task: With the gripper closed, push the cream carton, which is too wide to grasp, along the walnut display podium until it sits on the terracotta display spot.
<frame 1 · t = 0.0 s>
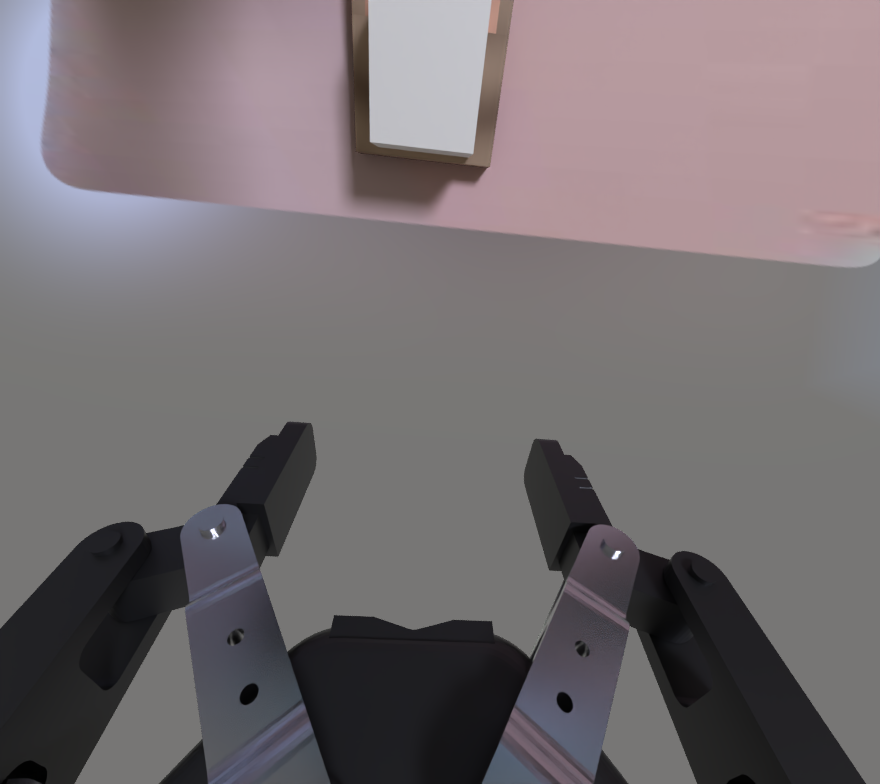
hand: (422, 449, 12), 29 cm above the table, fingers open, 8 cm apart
carton: (427, 85, 28), point 2 cm above the table, touching podium
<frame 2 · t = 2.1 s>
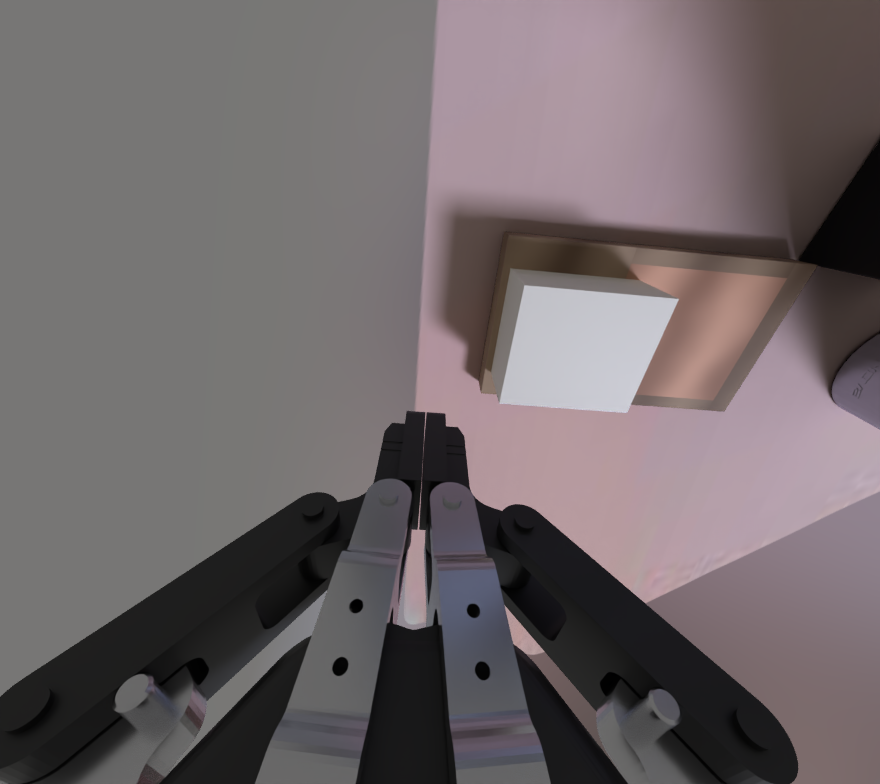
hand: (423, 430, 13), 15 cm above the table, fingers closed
carton: (559, 329, 25), point 2 cm above the table, touching podium
podium: (619, 326, 27), on the table
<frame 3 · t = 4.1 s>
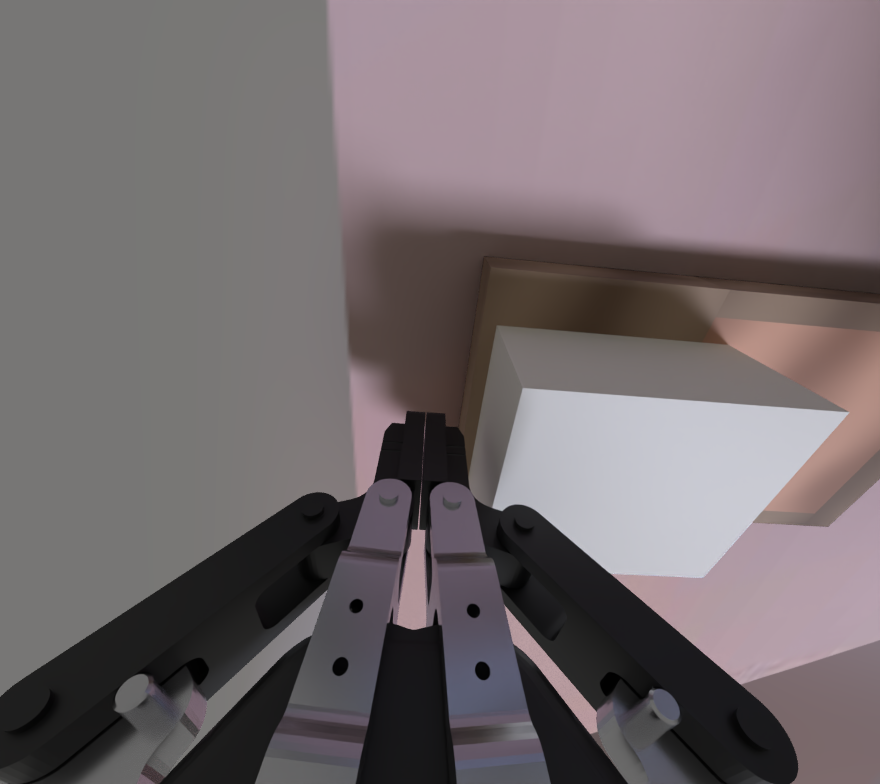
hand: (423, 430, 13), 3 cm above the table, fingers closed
carton: (581, 420, 15), point 2 cm above the table, touching gripper, podium
podium: (673, 403, 17), on the table
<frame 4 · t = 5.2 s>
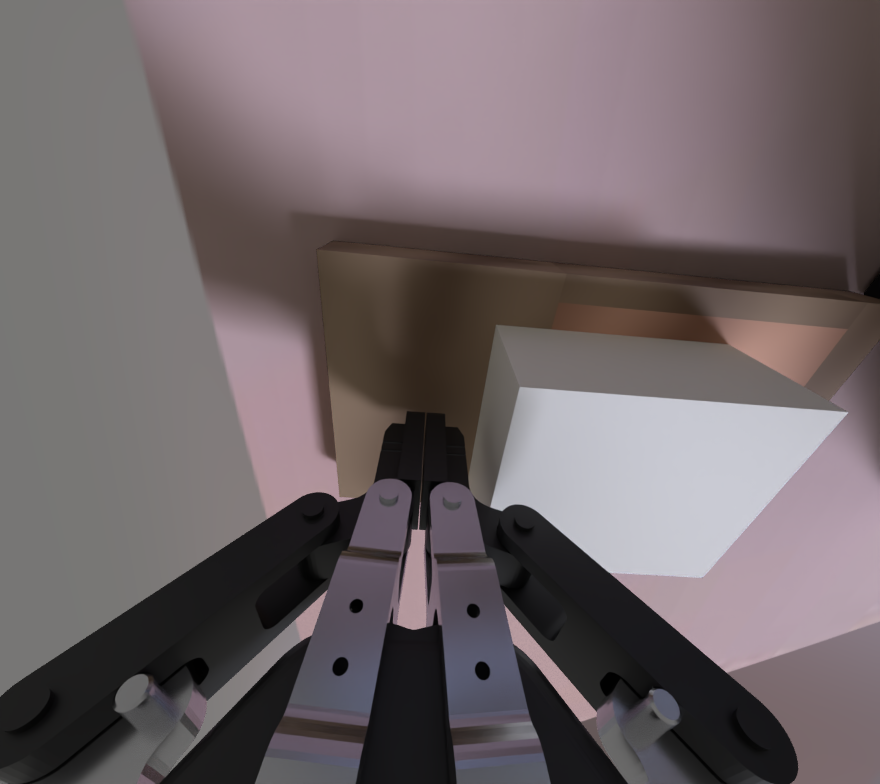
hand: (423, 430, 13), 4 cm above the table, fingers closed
carton: (581, 419, 15), point 2 cm above the table, touching gripper, podium
podium: (558, 394, 17), on the table
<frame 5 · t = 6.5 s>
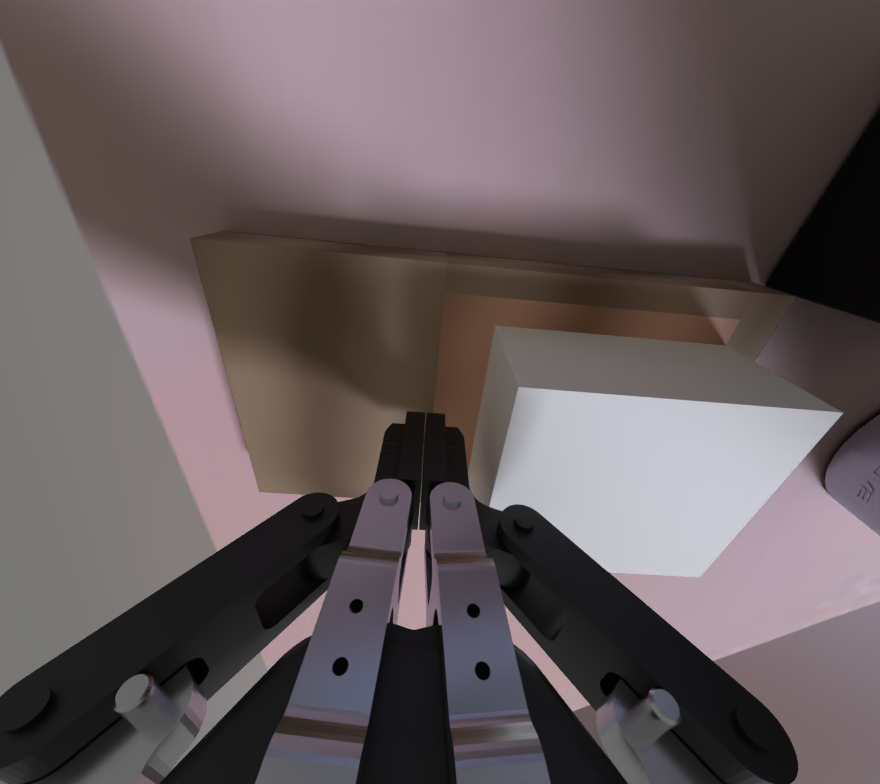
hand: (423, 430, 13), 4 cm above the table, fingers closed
carton: (580, 420, 15), point 2 cm above the table, touching gripper, podium
podium: (475, 388, 16), on the table
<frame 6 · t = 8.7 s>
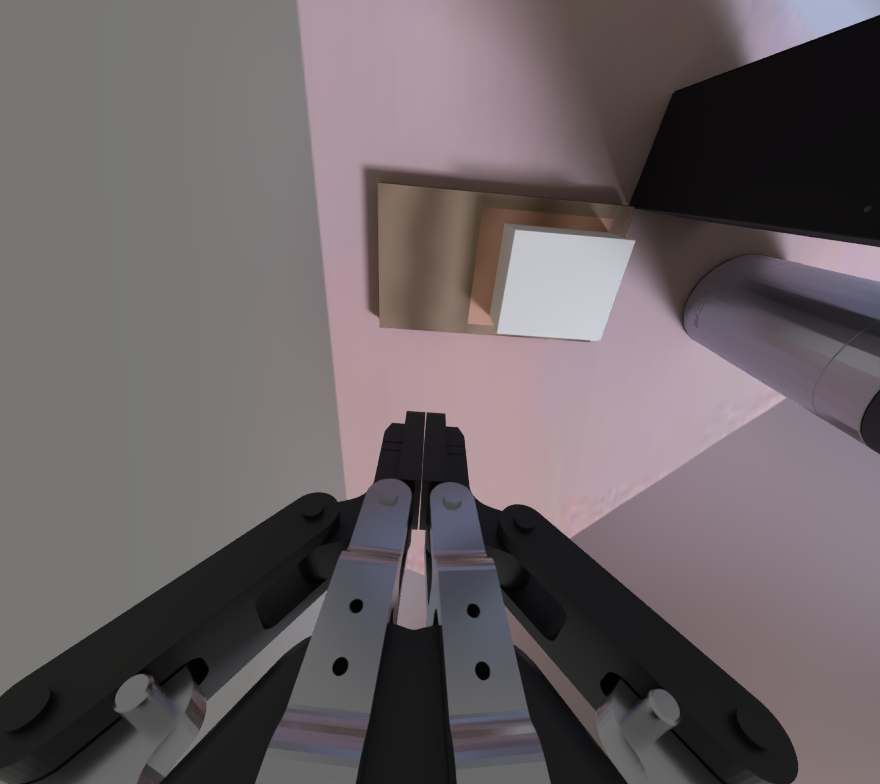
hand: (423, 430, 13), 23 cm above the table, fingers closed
carton: (545, 276, 31), point 2 cm above the table, touching podium
black rectangular column: (690, 162, 28), on the table
podium: (493, 267, 32), on the table
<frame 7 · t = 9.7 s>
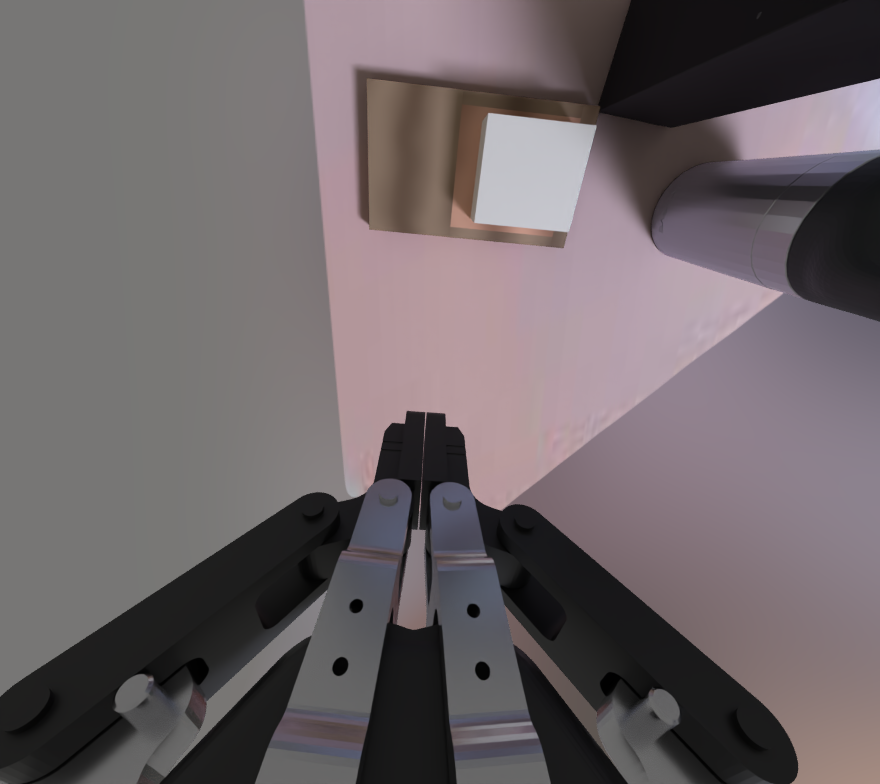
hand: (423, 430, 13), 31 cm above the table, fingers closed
carton: (520, 177, 33), point 2 cm above the table, touching podium
black rectangular column: (651, 67, 31), on the table
podium: (474, 173, 35), on the table
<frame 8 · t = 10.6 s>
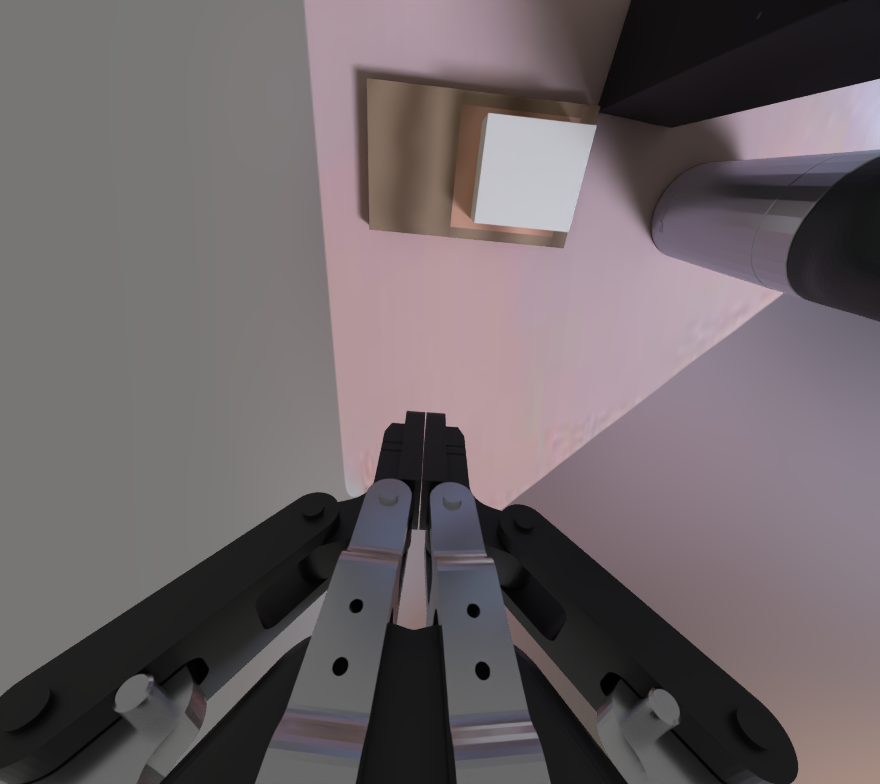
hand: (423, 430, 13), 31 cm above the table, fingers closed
carton: (521, 177, 33), point 2 cm above the table, touching podium
black rectangular column: (651, 67, 31), on the table
podium: (474, 173, 35), on the table
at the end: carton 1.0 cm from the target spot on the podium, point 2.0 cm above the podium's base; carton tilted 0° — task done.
